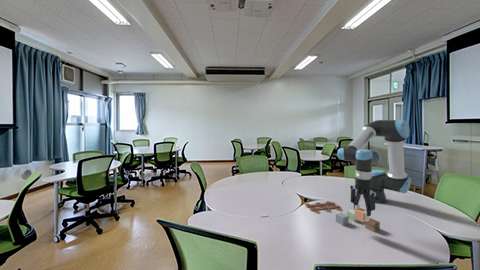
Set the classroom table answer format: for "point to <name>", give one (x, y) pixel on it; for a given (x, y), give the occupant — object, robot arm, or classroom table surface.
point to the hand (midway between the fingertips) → (361, 218)
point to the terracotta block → (360, 214)
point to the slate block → (342, 219)
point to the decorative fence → (323, 207)
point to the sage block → (352, 215)
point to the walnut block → (372, 225)
